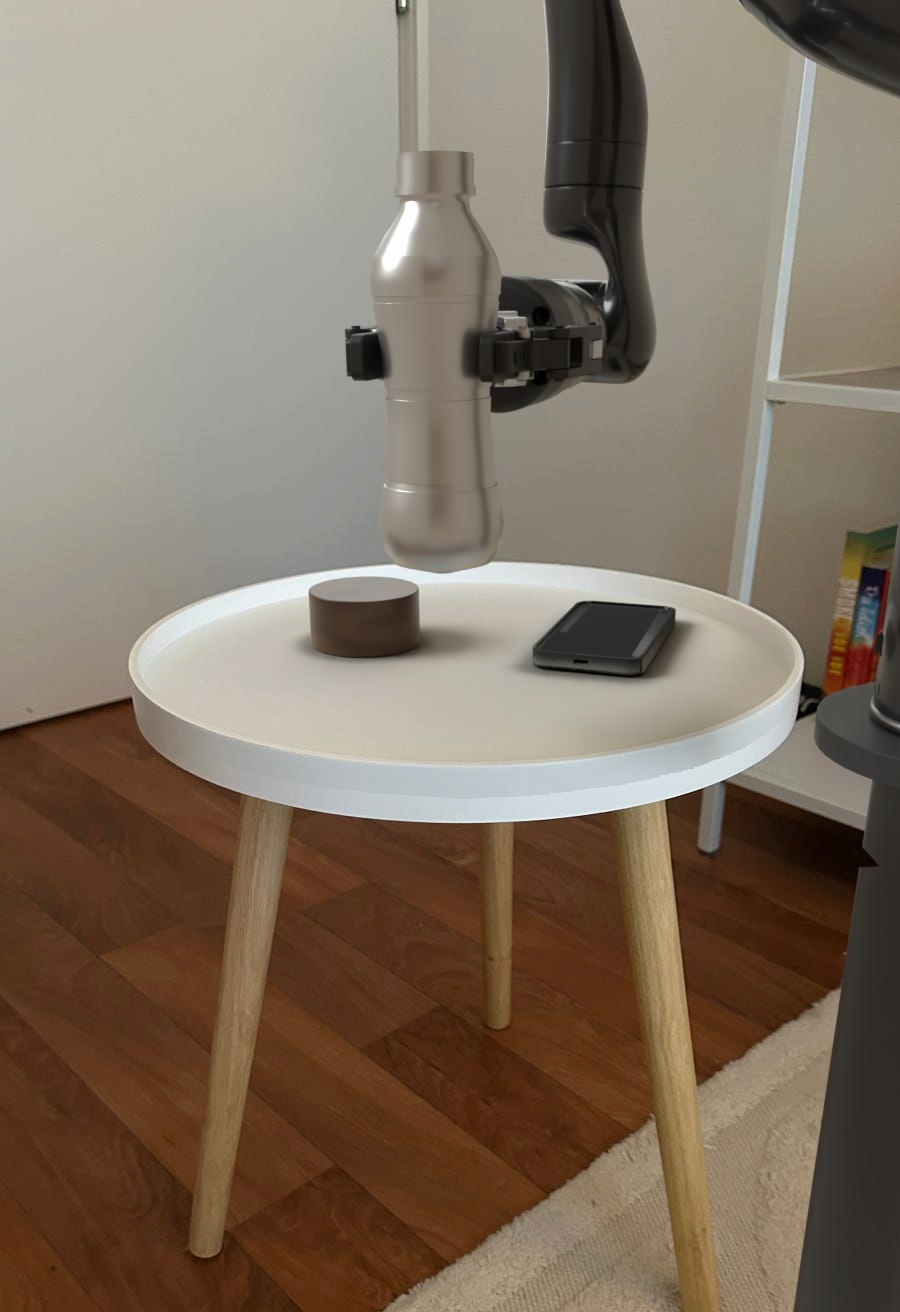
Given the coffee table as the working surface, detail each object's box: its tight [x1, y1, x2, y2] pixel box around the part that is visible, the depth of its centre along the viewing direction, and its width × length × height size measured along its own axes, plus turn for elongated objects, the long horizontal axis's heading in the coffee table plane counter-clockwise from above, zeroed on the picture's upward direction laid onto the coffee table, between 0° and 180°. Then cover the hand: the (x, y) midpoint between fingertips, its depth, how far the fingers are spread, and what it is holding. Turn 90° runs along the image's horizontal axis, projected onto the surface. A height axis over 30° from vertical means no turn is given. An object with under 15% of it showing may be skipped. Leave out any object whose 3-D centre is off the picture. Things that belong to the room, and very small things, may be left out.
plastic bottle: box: [368, 150, 505, 575], centre depth 59 cm, size 6×7×20 cm
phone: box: [531, 600, 677, 676], centre depth 84 cm, size 8×1×15 cm
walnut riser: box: [308, 575, 421, 658], centre depth 85 cm, size 8×8×4 cm
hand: (420, 358), depth 57 cm, fingers closed on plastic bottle, 6 cm apart
